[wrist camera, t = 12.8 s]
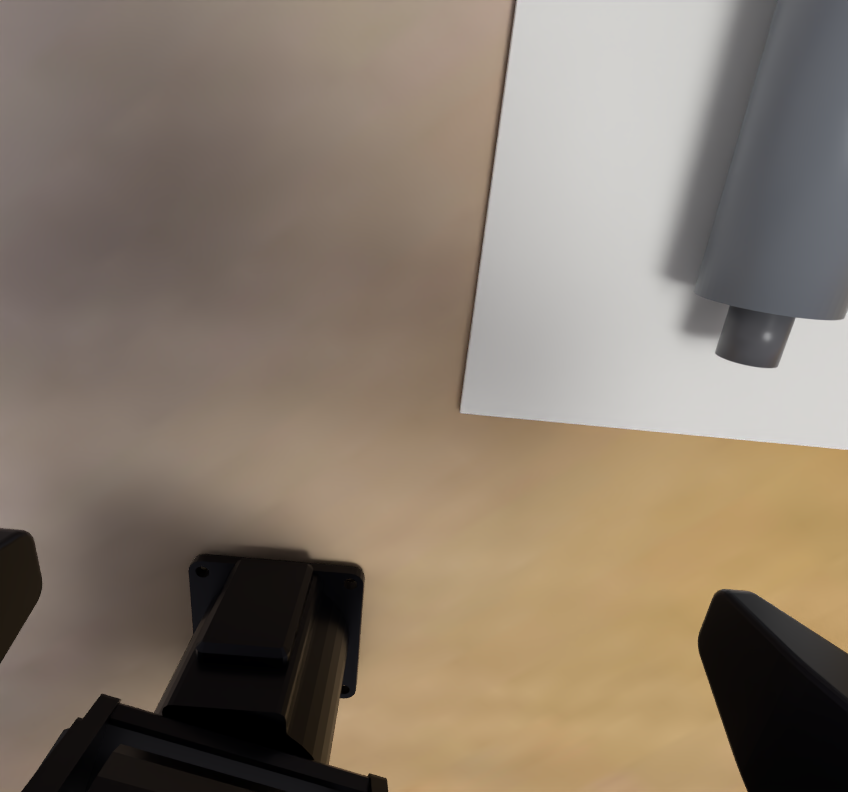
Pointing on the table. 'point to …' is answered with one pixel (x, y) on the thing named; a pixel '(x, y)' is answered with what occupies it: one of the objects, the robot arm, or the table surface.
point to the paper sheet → (630, 232)
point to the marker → (785, 190)
